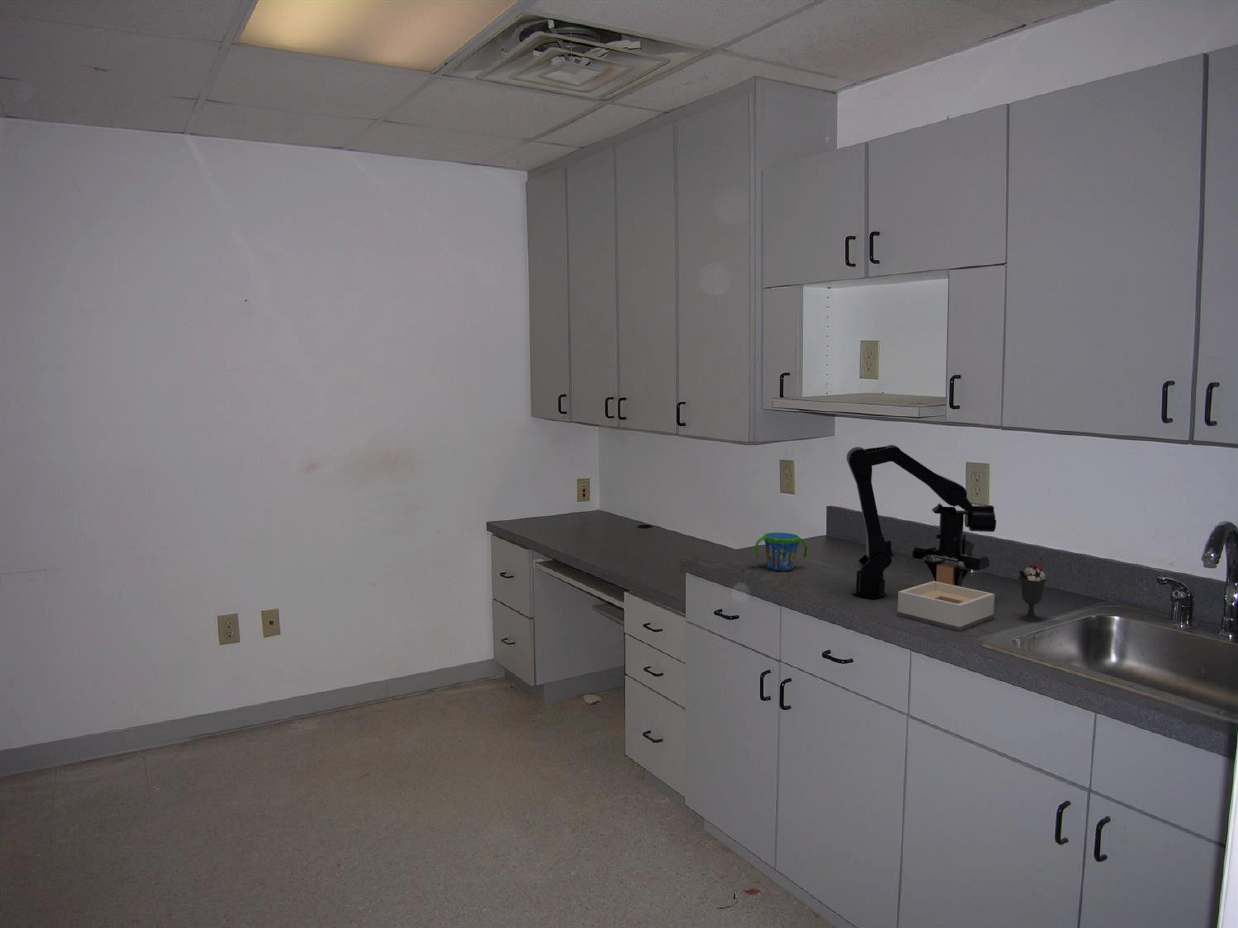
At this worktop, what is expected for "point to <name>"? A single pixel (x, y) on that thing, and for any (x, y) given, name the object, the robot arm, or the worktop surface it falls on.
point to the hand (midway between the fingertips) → (948, 589)
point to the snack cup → (781, 550)
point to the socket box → (946, 605)
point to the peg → (945, 573)
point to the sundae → (1032, 589)
